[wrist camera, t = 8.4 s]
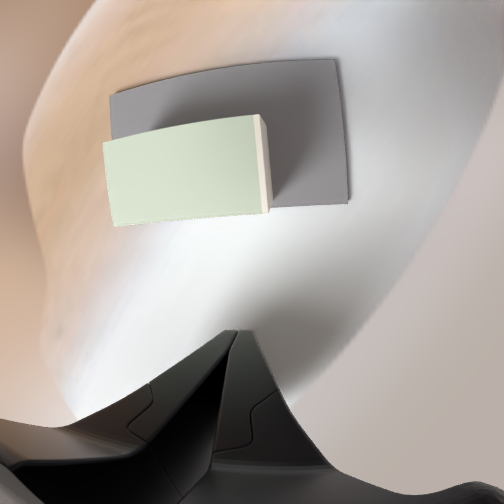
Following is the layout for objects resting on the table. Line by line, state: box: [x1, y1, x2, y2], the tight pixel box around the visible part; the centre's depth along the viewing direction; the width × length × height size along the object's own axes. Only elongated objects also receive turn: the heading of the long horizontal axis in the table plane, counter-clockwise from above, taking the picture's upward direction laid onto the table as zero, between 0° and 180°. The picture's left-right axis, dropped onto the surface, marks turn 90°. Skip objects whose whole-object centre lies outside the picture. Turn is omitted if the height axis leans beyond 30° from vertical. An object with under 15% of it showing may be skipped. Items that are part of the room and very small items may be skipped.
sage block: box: [103, 114, 273, 227], centre depth 17 cm, size 5×5×9 cm
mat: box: [109, 60, 348, 208], centre depth 19 cm, size 10×16×1 cm, turn 95°
